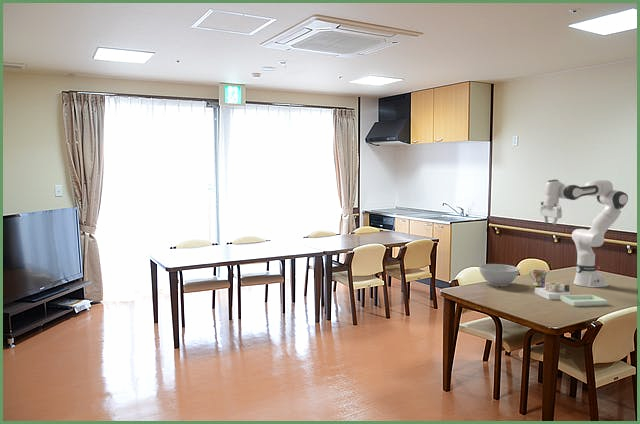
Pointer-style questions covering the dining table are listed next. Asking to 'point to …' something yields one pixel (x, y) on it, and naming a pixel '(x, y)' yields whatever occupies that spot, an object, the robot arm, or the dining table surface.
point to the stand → (550, 294)
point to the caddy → (556, 287)
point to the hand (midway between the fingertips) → (550, 223)
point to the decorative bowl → (498, 274)
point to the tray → (583, 300)
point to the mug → (539, 278)
